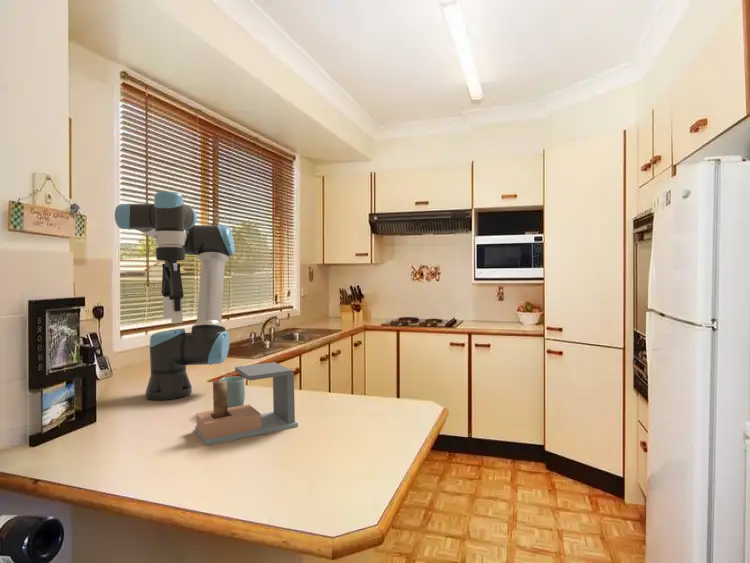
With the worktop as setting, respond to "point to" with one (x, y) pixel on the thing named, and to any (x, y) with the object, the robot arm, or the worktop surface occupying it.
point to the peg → (220, 399)
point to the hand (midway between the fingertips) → (172, 320)
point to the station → (246, 417)
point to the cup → (235, 391)
